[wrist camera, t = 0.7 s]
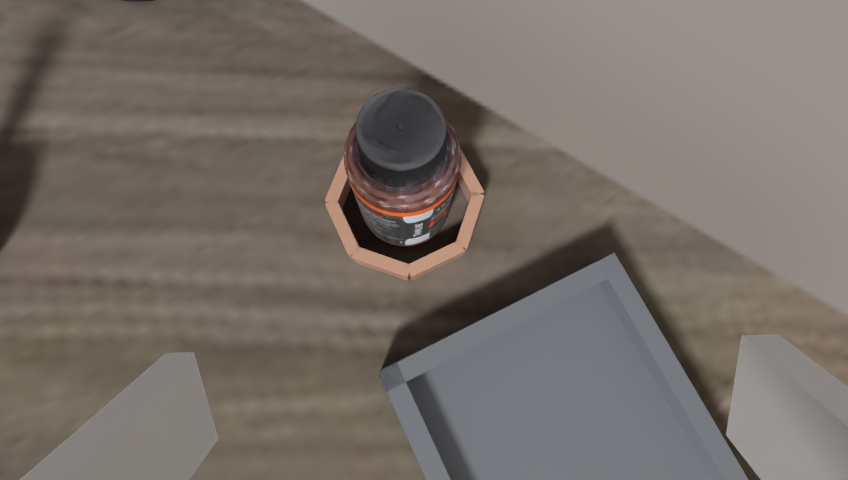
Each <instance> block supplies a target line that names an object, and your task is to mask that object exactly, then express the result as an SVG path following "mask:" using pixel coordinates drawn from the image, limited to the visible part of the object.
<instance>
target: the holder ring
mask: <svg viewBox="0 0 848 480" xmlns="http://www.w3.org/2000/svg"><path fill="white" fill-rule="evenodd" d="M457 182H458V184H459V186H460V188H461V189H462V191H463V193H464V195H465V197H466V199H467V201H468V206H467V209H466V212H465V215H464V218H463V221H462V224H461V227H460V230H459V233H458V236H457V239H456V242H454V243H452V244H450V245H448V246H445V247H443V248H441V249H439V250H437V251H435V252H433V253H431V254H429V255H427V256H424V257H422V258H420V259H418V260H416V261H414V262H412V263H410V264H407V263H404V262H401V261H398V260H396V259H393V258H390V257H387V256H384V255H381V254H378V253H375V252H372V251H369V250H366V249H363V248H361V247H360V246H359V244H358V242H357V240H356V238H355V236H354V234H353V231H352V229H351V227H350V225H349V223H348V221H347V219H346V216H345V214H344V212H343V210H342V209H343V206H344V204H345V201H346V199H347V196H348V194H349V191H350V189H351V185H350V183H349V179H348V177H347V174H346V170H345V166H344V155H343V158H342V160H341V162H340V165H339V167H338V170H337V172H336V175H335V177H334V179H333V182H332V184H331V187H330V189H329V191H328V194H327V196H326V199H325V201H326V204H325V205H326V207H327V210H328V212H329V214H330V216H331V218H332V220H333V223H334V225H335V227H336V229H337V231H338V234H339V236H340V238H341V240H342V242H343V244H344V247H345V249H346V251H347V253H348V255H349V256H350V258H351V259H352V260H354V262H355V263H358V264H361V265H364V266H366V267H369V268H372V269H375V270H378V271H381V272H384V273H387V274H390V275H393V276H395V277H398V278H401V279H404V280H407V281H408V279H409V276H410V278H411V280H414V279H416V278H418V277H420V276H422V275H424V274H426V273H428V272H431V271H433V270H435V269H437V268H439V267H441V266H443V265H445V264H447V263H449V262H451V261H453V260H455V259H457V258H460V257H462V255H463V254H464V253H465V251H466V249H467V247H468V244H469V241H470V238H471V235H472V232H473V229H474V226H475V223H476V220H477V217H478V214H479V211H480V208H481V205H482V202H483V199H484V195H483V193H484V191H483V189H482V187H481V185H480V183H479V181H478V179H477V178H476V176H475V174H474V172H473V170H472V168H471V167H470V165H469V163H468V161H467V159H466V157H465V156H464V154H463V152H462V150H461V167H460V171H459V175H458V180H457Z"/></svg>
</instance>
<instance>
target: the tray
mask: <svg viewBox="0 0 848 480" xmlns="http://www.w3.org/2000/svg"><path fill="white" fill-rule="evenodd" d="M378 373H379V375H380V378H381V380H382V382H383V384H384V387H385V389H386V391H387V393H388V396H389V398H390V400H391V402H392V404H393V407H394V409H395V411H396V413H397V416H398V418H399V420H400V422H401V425H402V427H403V429H404V431H405V433H406V436H407V438H408V440H409V442H410V445H411V447H412V449H413V451H414V454H415V456H416V458H417V460H418V463H419V465H420V467H421V469H422V471H423V474H424V476H425V478H426V480H748V478H747V476H746V475H745V473H744V471H743V469H742V468H741V466H740V464H739V463H738V461H737V459H736V458H735V456H734V454H733V453H732V451H731V449H730V447H729V446H728V444H727V442H726V441H725V439H724V437H723V436H722V434H721V432H720V431H719V429H718V427H717V425H716V424H715V422H714V420H713V419H712V417H711V415H710V414H709V412H708V410H707V409H706V407H705V405H704V403H703V402H702V400H701V398H700V397H699V395H698V393H697V392H696V390H695V388H694V387H693V385H692V383H691V381H690V380H689V378H688V376H687V375H686V373H685V371H684V370H683V368H682V366H681V365H680V363H679V361H678V359H677V358H676V356H675V354H674V353H673V351H672V349H671V348H670V346H669V344H668V343H667V341H666V339H665V337H664V336H663V334H662V332H661V331H660V329H659V327H658V326H657V324H656V322H655V321H654V319H653V317H652V315H651V314H650V312H649V310H648V309H647V307H646V305H645V304H644V302H643V300H642V299H641V297H640V295H639V293H638V292H637V290H636V288H635V287H634V285H633V283H632V282H631V280H630V278H629V277H628V275H627V273H626V271H625V270H624V268H623V266H622V265H621V263H620V261H619V260H618V258H617V256H616V255H615V253H613V254H610V255H608V256H606V257H603V258H601V259H599V260H596V261H594V262H592V263H590V264H588V265H587V266H585V267H583V268H581V269H579V270H577V271H575V272H573V273H571V274H569V275H567V276H565V277H563V278H561V279H559V280H557V281H555V282H553V283H551V284H549V285H547V286H545V287H543V288H541V289H539V290H537V291H535V292H533V293H531V294H529V295H527V296H525V297H523V298H521V299H519V300H517V301H515V302H513V303H511V304H509V305H507V306H505V307H503V308H501V309H499V310H497V311H495V312H493V313H491V314H489V315H487V316H485V317H483V318H481V319H479V320H477V321H475V322H473V323H471V324H469V325H467V326H466V327H464V328H462V329H460V330H458V331H456V332H454V333H452V334H450V335H448V336H446V337H444V338H442V339H440V340H438V341H436V342H434V343H432V344H430V345H428V346H426V347H424V348H422V349H420V350H418V351H416V352H414V353H412V354H410V355H408V356H406V357H404V358H402V359H400V360H398V361H396V362H394V363H392V364H390V365H388V366H386V367H384V368H382V369H381V370H380V371H379V372H378Z"/></svg>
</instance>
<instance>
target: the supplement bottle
mask: <svg viewBox="0 0 848 480" xmlns="http://www.w3.org/2000/svg"><path fill="white" fill-rule="evenodd" d="M344 166H345V170H346V174H347V177H348V179H349V183H350V185H351V188H352V191H353V193H354V196H355V198H356V201H357V203H358V206H359V208H360V211H361V213H362V216H363V218H364V221H365V223H366V224H367V226H368V227H369V229H370V230H371V231H372V232H373V233H374V234H375V235H376V236H377V237H378V238H380V239H381V240H383V241H385V242H387V243H389V244H391V245H396V246H414V245H418V244H421V243H423V242H425V241H427V240H429V239H430V238H432V237H433V236H434V235H435V234H436V233H437V232H438V231H439V230H440V229H441V227H442V226H443V224H444V222H445V220H446V218H447V217H448V213H449V210H450V206H451V202H452V198H453V194H454V191H455V188H456V184H457V180H458V175H459V171H460V167H461V148H460V143H459V140H458V137H457V135H456V133H455V131H454V129H453V127H452V126H451V125H450V124H449V122H448V121H447V120H446V119H445V118H444V116H443V113H442V111H441V109H440V108H439V106H438V105H437V104H436V103H435V102H434V100H432V99H431V98H430V97H429V96H427V95H426V94H424V93H422V92H419V91H416V90H412V89H410V88H393V89H389V90H385V91H382V92H380V93H378V94H376V95H375V96H373V97H372V98H371V99H370V100H368V101H367V102H366V104H365V105H364V106H363V107H362V109H361V110H360V112H359V115H358V117H357V121H356V123H355V124H354V125H353V127H352V128H351V130H350V132H349V134H348V136H347V139H346V142H345V147H344Z"/></svg>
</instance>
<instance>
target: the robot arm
mask: <svg viewBox="0 0 848 480" xmlns="http://www.w3.org/2000/svg"><path fill="white" fill-rule="evenodd" d="M125 1H153V0H125ZM726 436H727V437H728V438H729V440H730V441H731V442H732V444H733V445H734V446H735V447H736V449H737V450H738V451H739V452H740V454H741V455H742V456H743V458H744V459H745V460H746V461H747V463H748V464H749V465H750V467H751V468H752V469H753V470H754V472H755V473H756V474H757V476H758V477H759V478H760V479H761V480H848V386H846V385H845V384H844V383H842V382H841V381H840V380H838V379H837V378H836V377H834V376H833V375H832V374H830V373H829V372H828V371H826V370H825V369H824V368H822V367H821V366H820V365H818V364H817V363H816V362H814V361H813V360H812V359H810V358H809V357H808V356H807V355H805V354H804V353H803V352H801V351H800V350H799V349H797V348H796V347H795V346H793V345H792V344H791V343H789V342H788V341H787V340H785V339H784V338H783V337H781V336H780V335H779V334H775V335H742V336H741V343H740V349H739V355H738V362H737V368H736V374H735V381H734V387H733V393H732V400H731V406H730V412H729V419H728V425H727V431H726ZM217 440H218V435H217V432H216V428H215V425H214V421H213V418H212V414H211V411H210V407H209V404H208V400H207V397H206V393H205V390H204V387H203V383H202V380H201V376H200V373H199V369H198V366H197V362H196V359H195V355H194V352H180V353H165V354H164V355H163V356H162V357H161V358H159V359H158V360H157V361H156V362H155V363H154V364H152V365H151V366H150V367H149V368H148V369H147V370H146V371H144V372H143V373H142V374H141V375H140V376H139V377H137V378H136V379H135V380H134V381H133V382H132V383H131V384H129V385H128V386H127V387H126V388H125V389H124V390H122V391H121V392H120V393H119V394H118V395H117V396H116V397H114V398H113V399H112V400H111V401H110V402H109V403H107V404H106V405H105V406H104V407H103V408H102V409H101V410H99V411H98V412H97V413H96V414H95V415H94V416H93V417H91V418H90V419H89V420H88V421H87V422H86V423H84V424H83V425H82V426H81V427H80V428H79V429H78V430H76V431H75V432H74V433H73V434H72V435H71V436H69V437H68V438H67V439H66V440H65V441H64V442H63V443H61V444H60V445H59V446H58V447H57V448H56V449H54V450H53V451H52V452H51V453H50V454H49V455H48V456H46V457H45V458H44V459H43V460H42V461H41V462H39V463H38V464H37V465H36V466H35V467H34V468H33V469H31V470H30V471H29V472H28V473H27V474H26V475H24V476H23V477H22V478H21V479H20V480H190V478H191V477H192V475H193V474H194V473H195V471H196V470H197V468H198V467H199V466H200V464H201V463H202V461H203V460H204V459H205V457H206V456H207V454H208V453H209V452H210V450H211V449H212V447H213V446H214V445H215V443H216V442H217Z"/></svg>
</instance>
